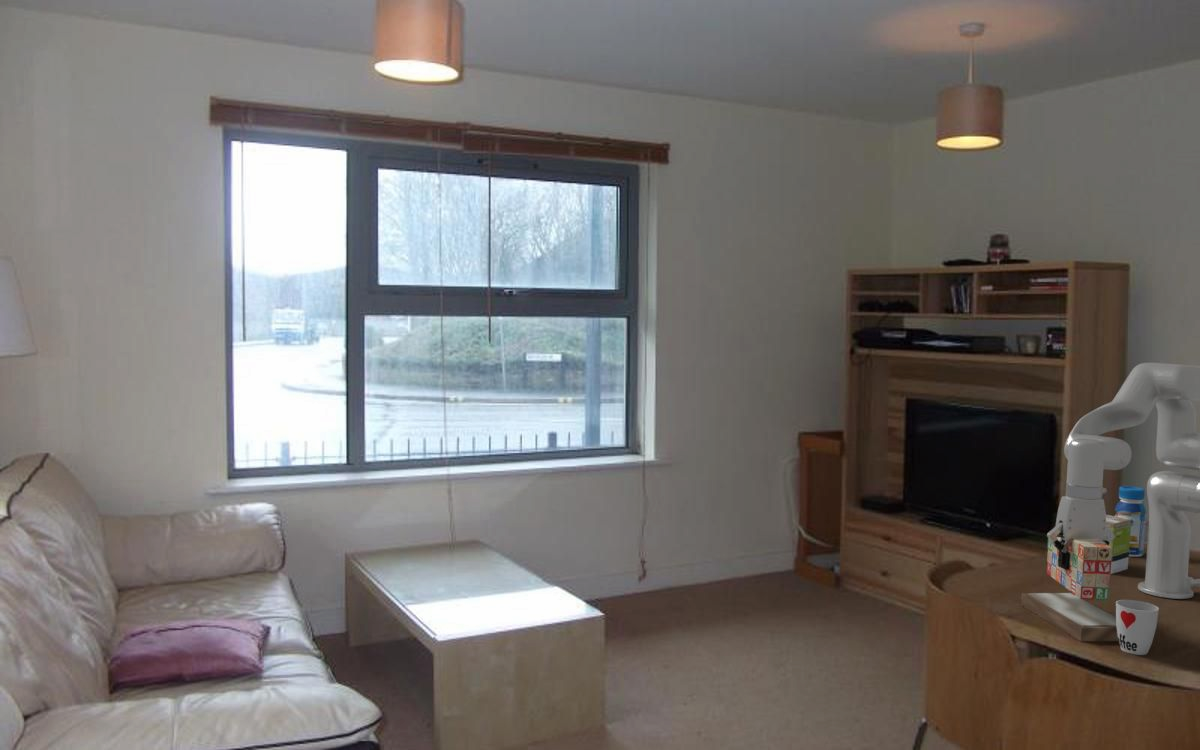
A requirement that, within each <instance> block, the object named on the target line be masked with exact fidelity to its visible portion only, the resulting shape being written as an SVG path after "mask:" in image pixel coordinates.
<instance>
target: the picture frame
mask: <svg viewBox="0 0 1200 750" xmlns="http://www.w3.org/2000/svg"><path fill="white" fill-rule="evenodd" d="M1020 595H1021V597H1020V599H1021V600H1020V606H1021V607H1023V606H1024V607H1023V608H1025V609H1026V608H1027V609H1026V610H1028V611H1030V612H1031V611H1032V612H1031V613H1033V614H1034V615H1036V614H1037V616H1038V617H1040V618H1041V617H1042V618H1041V619H1042V620H1045V621H1046V620H1047V622H1048V623H1049V622H1050V623H1049V624H1051V625H1053V626H1054V627H1056V628H1058V629H1059V628H1060V629H1059V630H1062V631H1063V633H1066V634H1068V635H1069V634H1070V635H1069V636H1070V637H1073V638H1074V639H1076V640H1078V641H1080V642H1119V640H1118V635H1117V626H1116V615H1115V614H1112V613H1111V612H1108V611H1107V610H1105V609H1103V608H1101V607H1099V606H1097V605H1096V604H1094V603H1093V602H1090V601H1089V600H1083V599H1079V598H1078V597H1077V596H1076V595H1074V594H1073V593H1072V592H1038V593H1037V592H1033V593H1032V592H1030V593H1029V592H1027V593H1026V592H1025V593H1024V592H1023V593H1022V592H1021V594H1020Z"/></svg>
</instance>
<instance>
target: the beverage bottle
mask: <svg viewBox="0 0 1200 750" xmlns="http://www.w3.org/2000/svg"><path fill="white" fill-rule="evenodd" d="M1145 492H1146V491H1145V489H1144V488H1141V487H1139V486H1138V487H1137V486H1130V485H1129V486H1128V485H1124V486H1123V485H1122V486H1119V489H1118V497H1119V499H1120V500H1119V501H1118V502H1117V504H1116V506H1115V509H1114V510H1115V515H1114V516H1116V517H1120V518H1125V519H1131V532H1130V546H1129V557H1130V558H1138V557H1142V556H1144V553H1145V551H1144V550H1145V549H1144V544H1145V532H1146V523H1147V518H1146V517H1145V516H1146V515H1147V509H1146V507H1145V505H1144V503H1143V501H1144V500H1145V495H1146V494H1145Z"/></svg>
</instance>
